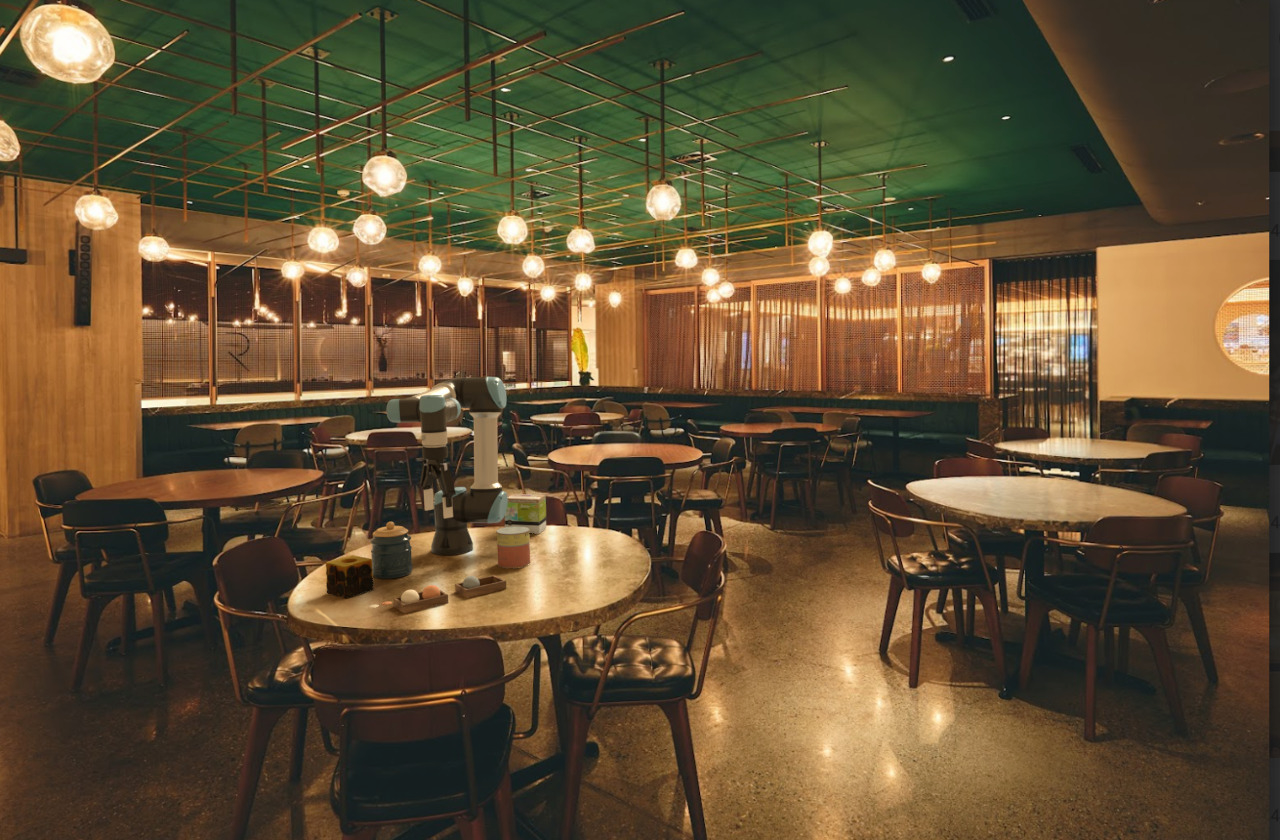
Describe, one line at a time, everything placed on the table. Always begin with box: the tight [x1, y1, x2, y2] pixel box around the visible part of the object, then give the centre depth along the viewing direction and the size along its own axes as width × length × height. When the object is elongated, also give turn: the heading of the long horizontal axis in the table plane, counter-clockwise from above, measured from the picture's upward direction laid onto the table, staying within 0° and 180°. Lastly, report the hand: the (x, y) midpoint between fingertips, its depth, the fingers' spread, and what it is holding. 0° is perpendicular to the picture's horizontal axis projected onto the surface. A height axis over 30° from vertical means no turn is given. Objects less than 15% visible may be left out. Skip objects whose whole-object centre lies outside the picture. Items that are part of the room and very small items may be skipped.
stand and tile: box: [367, 601, 393, 609], centre depth 214 cm, size 14×24×1 cm, turn 130°
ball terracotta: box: [422, 584, 441, 599], centre depth 208 cm, size 5×5×5 cm
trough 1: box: [392, 589, 449, 614], centre depth 206 cm, size 8×13×3 cm, turn 130°
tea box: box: [504, 493, 547, 535], centre depth 296 cm, size 15×10×15 cm
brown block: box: [325, 554, 375, 600], centre depth 220 cm, size 10×10×10 cm
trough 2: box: [454, 574, 507, 599], centre depth 218 cm, size 8×13×3 cm, turn 130°
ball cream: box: [400, 589, 419, 604], centre depth 204 cm, size 5×5×5 cm
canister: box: [369, 521, 413, 580], centre depth 239 cm, size 13×13×18 cm
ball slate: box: [462, 575, 480, 589], centre depth 216 cm, size 5×5×5 cm
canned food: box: [496, 526, 531, 569], centre depth 248 cm, size 11×11×12 cm
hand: (438, 513), depth 220 cm, fingers open, 13 cm apart
